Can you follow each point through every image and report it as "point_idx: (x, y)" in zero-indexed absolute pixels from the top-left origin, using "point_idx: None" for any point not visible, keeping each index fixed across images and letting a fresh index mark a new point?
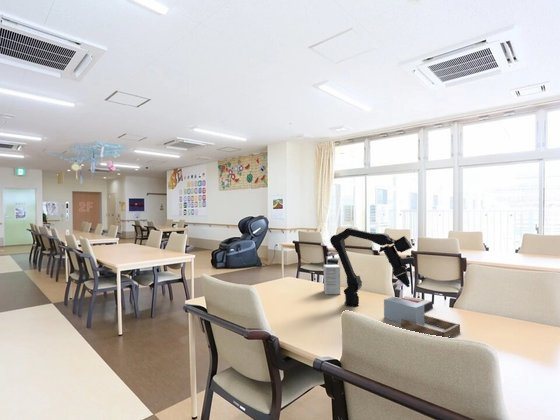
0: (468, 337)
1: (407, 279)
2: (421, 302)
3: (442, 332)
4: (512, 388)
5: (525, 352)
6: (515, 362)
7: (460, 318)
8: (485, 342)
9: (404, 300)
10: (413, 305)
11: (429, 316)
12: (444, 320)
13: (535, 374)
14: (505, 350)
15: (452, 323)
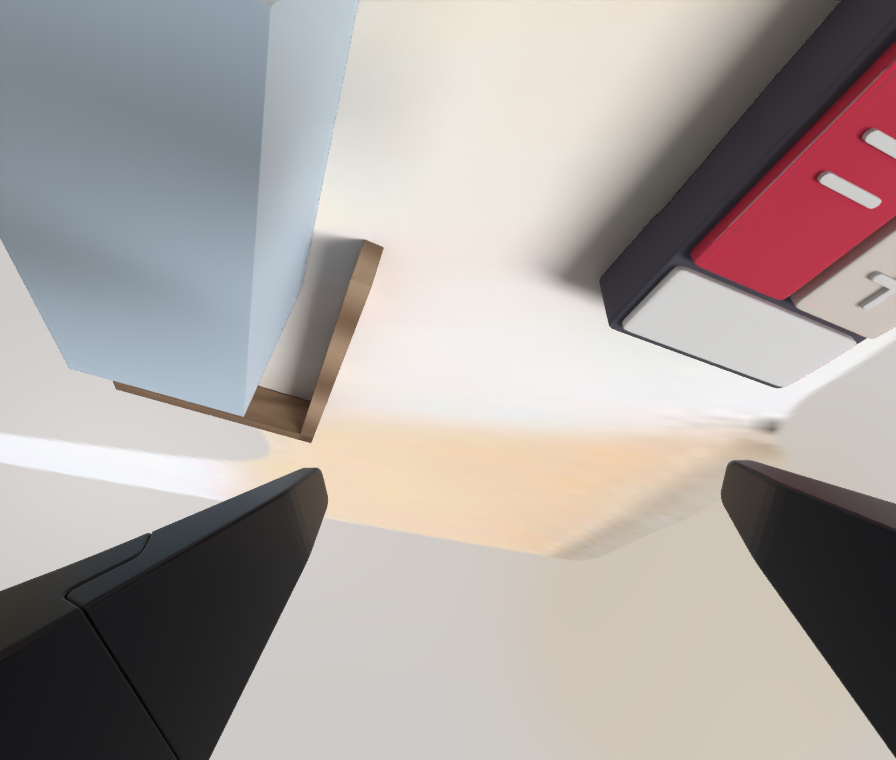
0: None
1: (790, 578)
2: (730, 321)
3: (115, 385)
4: (9, 439)
5: None
6: (181, 468)
7: (534, 432)
8: (272, 449)
9: (209, 271)
10: (116, 353)
11: (337, 352)
12: (321, 406)
13: (151, 477)
14: (250, 469)
15: (303, 425)
